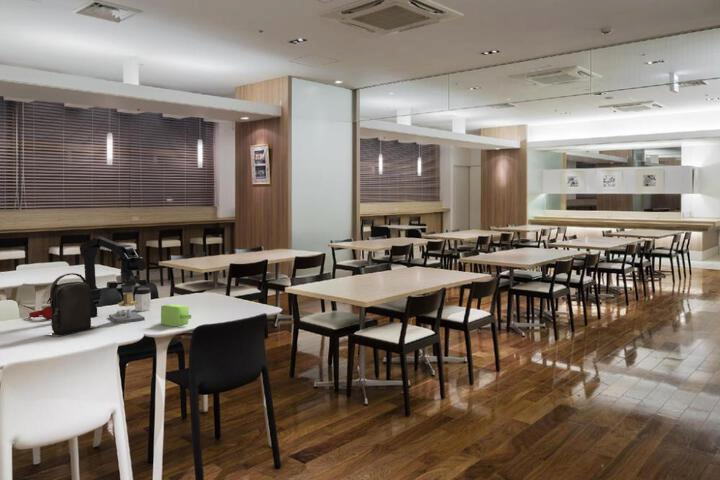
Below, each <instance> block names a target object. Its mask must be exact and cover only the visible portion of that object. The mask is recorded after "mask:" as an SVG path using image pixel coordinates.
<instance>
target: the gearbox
mask: <svg viewBox="0 0 720 480" xmlns="http://www.w3.org/2000/svg"><path fill="white" fill-rule="evenodd" d="M160 307H161V308H160V324H161V325H165V326H171V327H180V325H181V326H185V325H187V324H189V319H190V320H191V319H192V314H191V313H190V314H189V310H190V309H189V307H190V306H188V305H182V304H179V303H178V304H177V303H172V304H165V305H161V306H160ZM184 324H185V325H184Z"/></svg>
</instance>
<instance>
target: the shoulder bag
mask: <svg viewBox="0 0 720 480" xmlns="http://www.w3.org/2000/svg"><path fill="white" fill-rule="evenodd" d="M72 275H73V276H76V277H78V278H79V279H81V281H71V282H64V283H59V284H58V282H59V281H60V280H61V279H63V278H64V277H66V276H72ZM46 304H47V305H50V306H51V320H50V321H51V330H52V332H51V333H52V336H51V337H54V338H57V337H61V336H67V335H70V334H71V335H72V334H77V333H81V332H85V331H90V330H95V329H100V328H101V327H100V326H94V325H92V319H91V318H92V317H91V313H94V301H93V300H92V298H91V289H90V286H89V285H88V284H87V283H86V280H85V277H84V276H83V275H82V274H79V273H76V272H75V273H74V272H70V273H65V274H62V275H59V276H58V277H56V279H54V281H53V282H52V283H51V287H50V293H49V297H48V299H47V302H46ZM48 336H49V337H50V335H48Z"/></svg>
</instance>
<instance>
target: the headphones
mask: <svg viewBox="0 0 720 480" xmlns="http://www.w3.org/2000/svg"><path fill="white" fill-rule="evenodd" d="M28 315H29V318H30V319H34V318H44V319H45V320H47V319H51V305H48V306H46V307H44V308H43V309H42V310H35V311H31V312H29V313H28ZM31 317H33V318H31Z"/></svg>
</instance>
